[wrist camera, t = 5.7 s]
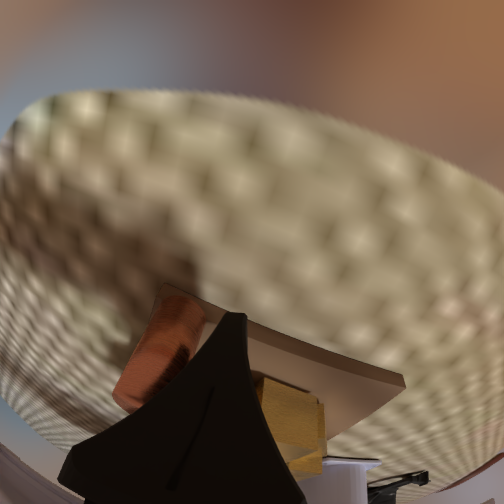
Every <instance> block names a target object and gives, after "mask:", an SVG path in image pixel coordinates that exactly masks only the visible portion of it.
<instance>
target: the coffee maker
mask: <svg viewBox="0 0 504 504" xmlns="http://www.w3.org/2000/svg"><path fill="white" fill-rule="evenodd" d="M428 482H430V480H429V477H428V471H426V472H423V473H421V474H419V475H416V476H411V477H409V478H406V479H402V480H400V481H397V482H393V483H390V484H388V485H385V486H382V487H379V488H377V489H370V490H367V500H368V504H396V491H397V490H398V489H399V488H398V487H401V486H404V485H407V484H409V483H413V484H418V485H419V486H423V485H425V484H427V483H428Z"/></svg>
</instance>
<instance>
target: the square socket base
mask: <svg viewBox="0 0 504 504" xmlns="http://www.w3.org/2000/svg"><path fill="white" fill-rule="evenodd" d="M172 295H179V296H184V297H187V298H189V299H191V300H193V301H195V302H196V303H197V304H198V305H199V306H200V307H201V308H202V309H203V311H204V312H205V315H206V324H205V327H204V330H203V333H202V336H201V339H200V342H199V344H198V347H197V350H196V353H197V352H198V350H199V349H200V348H201V347H202V345H203V344H204V343H205V342H206V340H207V339H208V338H209V336H210V335H211V334H212V332H213V331H214V329H215V328H216V326H217V325H218V323H219V322H220V320H221V319H222V317H223V315H224V314H225V313H226V312H228V311H226V310H223V309H221V308H219V307H216V306H214V305H212V304H210V303H207V302H205V301H203V300H201V299H198V298H196V297H194V296H192V295H190V294H188V293H185V292H183V291H181V290H179V289H177V288H175V287H173V286H171V285H169V284H166V283H164V285H163V286H162V288H161V290H160V291H159V293H158V294H157V296H156V299H155V303H154V306H153V309H152V313H151V316H150V320H149V323H150V321H151V319H152V317H153V315H154V314H155V312H156V310H157V308H158V307H159V305H160V303H161V302H162V300H163V299H165V298H166V297H168V296H172ZM247 329H248V359H249V364H250V369H251V374H252V378H253V382H254V385H256V384H257V383H258V382H259V381H261V380H262V379H263V378H264V377H265V378H268V379H270V380H273V381H275V382H278V383H280V384H283V385H286V386H288V387H291V388H293V389H296V390H299V391H302V392H304V393H307V394H310V395H313V396H316V397H317V404H321V403H324V409H325V418H326V430H327V440H329V439H331V438H333V437H335V436H336V435H338V434H340V433H341V432H343V431H345V430H347V429H348V428H350V427H351V426H353V425H355V424H356V423H358V422H359V421H361V420H363V419H364V418H366V417H367V416H369V415H370V414H372V413H373V412H375V411H376V410H377V409H379V408H380V407H382V406H383V405H385V404H386V403H387V402H389V401H390V400H391V399H393V398H394V397H395V396H397V395H398V394H399V393H401V392H402V391H403V390H405V389H406V385H405V382H404V378H403V375H401V374H397V373H394V372H391V371H387V370H384V369H381V368H378V367H375V366H371V365H368V364H365V363H362V362H359V361H356V360H353V359H350V358H347V357H344V356H341V355H338V354H335V353H333V352H330V351H327V350H324V349H321V348H319V347H316V346H313V345H310V344H308V343H305V342H302V341H300V340H297V339H294V338H292V337H289V336H286V335H284V334H281V333H279V332H276V331H274V330H271V329H269V328H266V327H264V326H261V325H259V324H256V323H254V322H251V321H249V320H247ZM196 353H195V354H196Z"/></svg>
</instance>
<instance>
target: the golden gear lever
mask: <svg viewBox="0 0 504 504" xmlns="http://www.w3.org/2000/svg"><path fill="white" fill-rule="evenodd" d="M205 324H206V315H205V312H204V311H203V309H202V308H201V307H200V306H199V305H198V304H197V303H196V302H195V301H193V300H191V299H189V298H187V297H184V296H179V295H172V296H168V297H166V298H165V299H163V300H162V302H161V303H160V305H159V307H158V308H157V310H156V312H155V314H154V315H153V317H152V319H151V321H150V323H149V324H148V326H147V328H146V330H145V332H144V333H143V335H142V337H141V339H140V341H139V343H138V344H137V346H136V348H135V350H134V352H133V354H132V356H131V357H130V359H129V361H128V363H127V365H126V367H125V369H124V371H123V373H122V375H121V377H120V379H119V381H118V383H117V385H116V386H115V388H114V390H113V392H112V397H113V399H114V400H115V402H116V403H117V404H118V405H119V406H120V407H121V408H122V409H124V410H125V411H126V412H128V413H129V414H131V413H133V412H134V411H136V410H137V409H138V408H140V407H141V406H142V405H144V404H145V403H146V402H147V401H149V400H150V399H151V398H152V397H154V396H155V395H156V394H157V393H158V392H159V391H160V390H162V389H163V388H164V387H165V386H166V385H167V384H168V383H169V382H170V381H171V380H172V379H173V378H174V377H175V376H176V375H177V374H178V373H179V372H180V371H181V370H182V369H183V368H184V367H185V365H186V364H187V363H188V362H189V361H190V360H191V359H192V358H193V357H194V355H195V353H196V350H197V347H198V344H199V342H200V339H201V336H202V333H203V330H204V327H205ZM255 389H256V392H257V396H258V399H259V402H260V405H261V408H262V411H263V413H264V416H265V419H266V421H267V424H268V427H269V429H270V431H271V433H272V436H273V438H274V440H275V442H276V444H277V447H278V449H279V451H280V453H281V455H282V457H283V459H284V461H285V463H286V465H287V466H288V468H289V470H290V472H291V474H292V475H293V477H294V479H295V481H296V482H297V481H301V480H304V479H308V478H311V477H314V476H317V475H321V474H322V457H324V456H327V430H326V418H325V409H324V403H321V404H317V397H316V396H313V395H310V394H307V393H304V392H302V391H299V390H296V389H293V388H291V387H288V386H286V385H283V384H280V383H278V382H275V381H273V380H270V379H268V378H265V377H264V378H263V379H262V380H261V381H259V382H258V383H257V384H256V385H255Z"/></svg>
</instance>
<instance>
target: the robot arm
mask: <svg viewBox="0 0 504 504" xmlns="http://www.w3.org/2000/svg"><path fill="white" fill-rule="evenodd" d="M381 464H382V461H381V460H354V459H340V458H324V459H322V474H321V475H317V476H314V477H311V478H308V479H304V480H301V481H297V482H296V481H295V479H294V477H293V475H292V474H291V472H290V470H289V468H288V466H287V465H286V463H285V461H284V459H283V457H282V455H281V453H280V451H279V449H278V447H277V444H276V442H275V440H274V438H273V436H272V433H271V431H270V429H269V427H268V424H267V421H266V419H265V416H264V413H263V411H262V408H261V405H260V402H259V399H258V396H257V392H256V389H255V385H254V382H253V378H252V374H251V369H250V364H249V359H248V329H247V315H246V314H245V313H235V312H226V313H225V314H224V315H223V317H222V319H221V320H220V322H219V323H218V325H217V326H216V328H215V329H214V331H213V332H212V334H211V335H210V336H209V338H208V339H207V340H206V342H205V343H204V344H203V345H202V347H201V348H200V349H199V350H198V352H197V353H196V354H195V355H194V357H193V358H192V359H191V360H190V361H189V362H188V363H187V364H186V365H185V367H184V368H183V369H182V370H181V371H180V372H179V373H178V374H177V375H176V376H175V377H174V378H173V379H172V380H171V381H170V382H169V383H168V384H167V385H166V386H165V387H164V388H163V389H162V390H160V391H159V392H158V393H157V394H156V395H155V396H154V397H152V398H151V399H150V400H149V401H147V402H146V403H145V404H144V405H142V406H141V407H140V408H138V409H137V410H136V411H134V412H133V413H131V414H130V415H128V416H127V417H125V418H124V419H122V420H121V421H119V422H118V423H116V424H114V425H113V426H111V427H110V428H108V429H106V430H104V431H103V432H101V433H99V434H97V435H95V436H93V437H91V438H89V439H87V440H85V441H82V442H80V443H78V444H76V445H74V446H72V448H71V450H70V452H69V453H68V455H67V457H66V460H65V462H64V464H63V466H62V469H61V471H60V473H59V476H58V478H57V480H58V482H59V483H60V484H62V485H63V486H65V487H67V488H68V489H70V490H72V491H73V492H75V493H77V494H79V495H81V496H83V497H84V498H85V501H83V500H81V499H80V498H78V497H76V496H74V495H72V494H70V493H69V492H67V491H65V490H64V489H62V488H60V487H59V486H57V485H56V484H54V483H52V482H51V481H49V480H48V479H46V478H45V477H43V476H41V475H40V474H39V473H37V472H36V471H34V470H33V469H32V468H30V467H29V466H28V465H26V464H25V463H24V462H22V461H21V460H20V458H19V457H18V456H16V455H15V454H14V453H13V452H11V451H10V450H9V449H8V448H6V447H5V446H4V445H3V444H1V443H0V504H368V500H367V481H366V471H367V470H370V469H372V468H374V467H376V466H379V465H381ZM482 504H495V501H494V499H493V498H492V499H490V500H488V501H486V502H484V503H482Z"/></svg>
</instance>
